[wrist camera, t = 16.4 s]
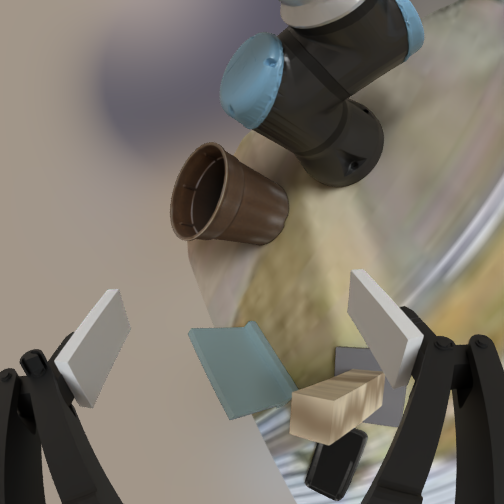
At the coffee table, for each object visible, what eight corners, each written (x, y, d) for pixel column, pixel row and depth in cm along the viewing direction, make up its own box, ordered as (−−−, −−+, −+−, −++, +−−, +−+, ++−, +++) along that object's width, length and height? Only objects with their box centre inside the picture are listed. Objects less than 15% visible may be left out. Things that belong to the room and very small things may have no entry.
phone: (303, 484, 37) (324, 418, 38) (307, 482, 38) (328, 416, 39) (340, 503, 32) (368, 435, 33) (343, 499, 32) (371, 432, 33)
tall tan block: (351, 368, 37) (290, 391, 27) (385, 371, 33) (333, 400, 24) (348, 401, 36) (287, 433, 26) (381, 405, 32) (329, 445, 23)
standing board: (254, 321, 53) (195, 321, 44) (300, 392, 43) (241, 410, 34) (241, 337, 55) (183, 340, 46) (282, 406, 45) (224, 424, 36)
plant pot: (228, 209, 64) (164, 190, 53) (277, 157, 55) (211, 124, 44) (251, 271, 56) (177, 260, 45) (312, 218, 47) (239, 189, 36)
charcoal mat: (339, 346, 40) (336, 347, 39) (409, 349, 32) (407, 350, 32) (334, 414, 38) (331, 416, 37) (400, 424, 30) (398, 427, 30)
